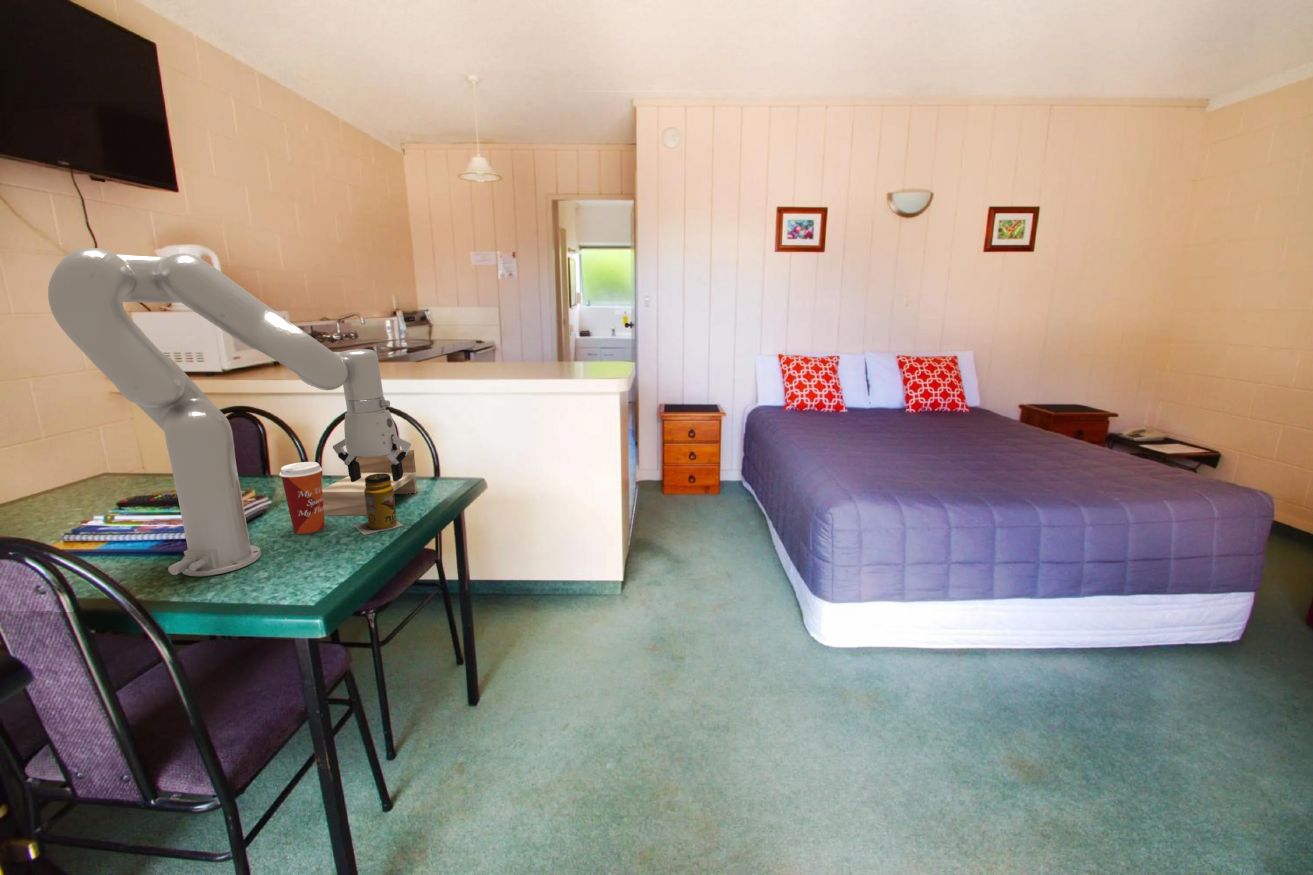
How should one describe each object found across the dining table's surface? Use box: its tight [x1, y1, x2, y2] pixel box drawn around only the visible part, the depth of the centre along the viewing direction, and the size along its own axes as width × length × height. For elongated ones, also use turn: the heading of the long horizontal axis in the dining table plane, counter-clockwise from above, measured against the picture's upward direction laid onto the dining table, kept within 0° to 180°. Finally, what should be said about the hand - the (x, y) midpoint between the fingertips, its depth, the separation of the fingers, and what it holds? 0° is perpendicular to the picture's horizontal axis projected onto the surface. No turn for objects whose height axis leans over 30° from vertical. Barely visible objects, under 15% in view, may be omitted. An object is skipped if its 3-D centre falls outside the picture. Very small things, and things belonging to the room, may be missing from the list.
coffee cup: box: [279, 461, 325, 535], centre depth 127 cm, size 8×8×15 cm
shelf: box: [322, 449, 419, 516], centre depth 145 cm, size 18×16×12 cm
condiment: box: [354, 474, 404, 536], centre depth 129 cm, size 7×8×12 cm
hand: (377, 479), depth 128 cm, fingers open, 9 cm apart
